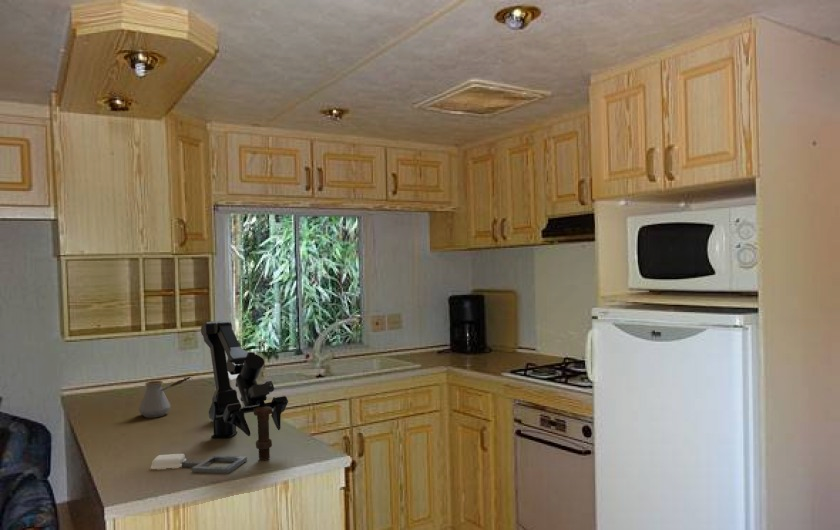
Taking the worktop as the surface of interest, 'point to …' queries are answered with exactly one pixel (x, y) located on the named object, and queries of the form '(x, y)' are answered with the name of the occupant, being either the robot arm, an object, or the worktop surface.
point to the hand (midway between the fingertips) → (264, 432)
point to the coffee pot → (156, 399)
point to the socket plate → (201, 467)
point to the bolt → (263, 431)
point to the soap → (168, 461)
